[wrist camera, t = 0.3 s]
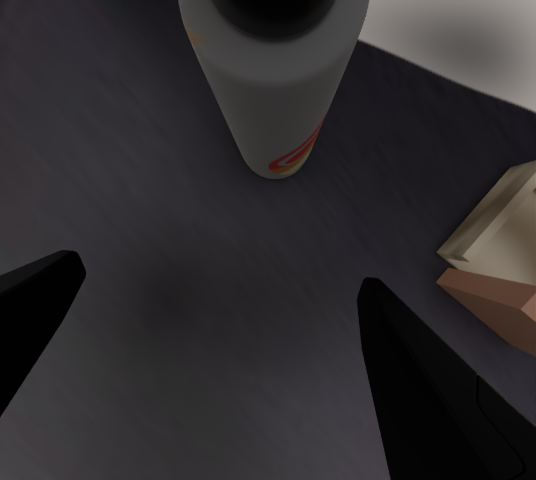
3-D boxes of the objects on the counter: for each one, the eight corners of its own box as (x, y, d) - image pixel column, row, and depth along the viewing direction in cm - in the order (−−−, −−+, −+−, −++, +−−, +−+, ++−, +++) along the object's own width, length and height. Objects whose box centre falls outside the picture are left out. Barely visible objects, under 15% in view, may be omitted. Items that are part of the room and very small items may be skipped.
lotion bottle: (323, 154, 23) (654, -392, 3) (267, 194, 23) (204, -48, 3) (284, 97, 23) (335, -860, 3) (227, 138, 23) (-94, -477, 3)
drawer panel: (510, 344, 23) (635, 405, 15) (435, 282, 23) (520, 309, 15) (523, 329, 23) (656, 382, 15) (448, 267, 23) (540, 286, 15)
